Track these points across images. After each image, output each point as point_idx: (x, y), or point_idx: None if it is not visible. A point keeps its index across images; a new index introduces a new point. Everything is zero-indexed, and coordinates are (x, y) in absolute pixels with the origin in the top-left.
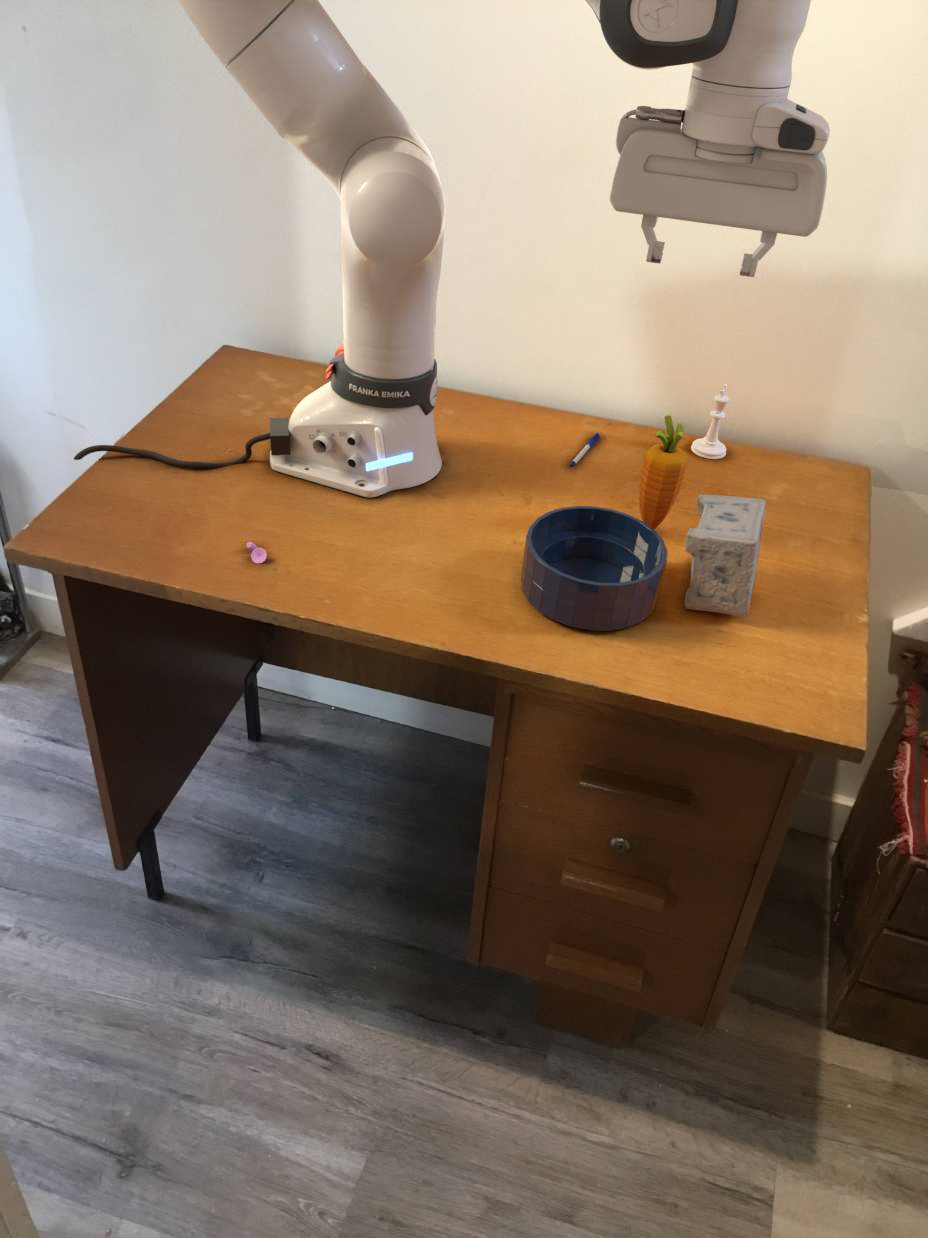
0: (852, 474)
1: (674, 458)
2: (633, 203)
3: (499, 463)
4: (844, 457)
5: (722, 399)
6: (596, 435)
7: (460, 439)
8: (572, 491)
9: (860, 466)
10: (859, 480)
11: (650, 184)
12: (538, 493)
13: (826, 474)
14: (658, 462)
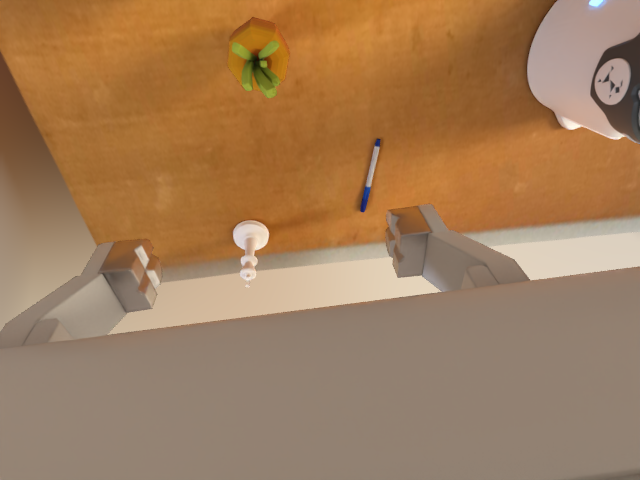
0: None
1: (241, 42)
2: (630, 293)
3: (457, 108)
4: None
5: (246, 270)
6: (363, 207)
7: (505, 138)
8: (368, 86)
9: None
10: None
11: (635, 391)
12: (405, 61)
13: None
14: (263, 28)
